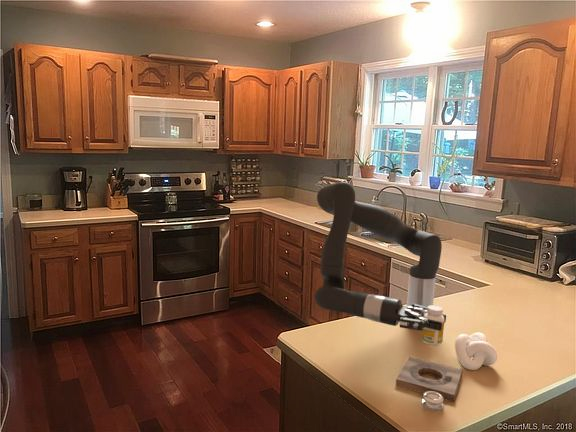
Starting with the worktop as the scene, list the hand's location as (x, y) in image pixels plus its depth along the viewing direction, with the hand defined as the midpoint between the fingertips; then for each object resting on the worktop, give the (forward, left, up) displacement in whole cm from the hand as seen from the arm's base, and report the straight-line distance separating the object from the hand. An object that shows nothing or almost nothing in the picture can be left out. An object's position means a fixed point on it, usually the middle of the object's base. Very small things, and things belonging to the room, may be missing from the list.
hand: (443, 322), depth 123 cm
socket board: (0, -2, -18) cm, 18 cm away
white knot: (-16, +7, -18) cm, 25 cm away
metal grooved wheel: (+12, +1, -18) cm, 22 cm away
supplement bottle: (0, -3, -6) cm, 7 cm away
